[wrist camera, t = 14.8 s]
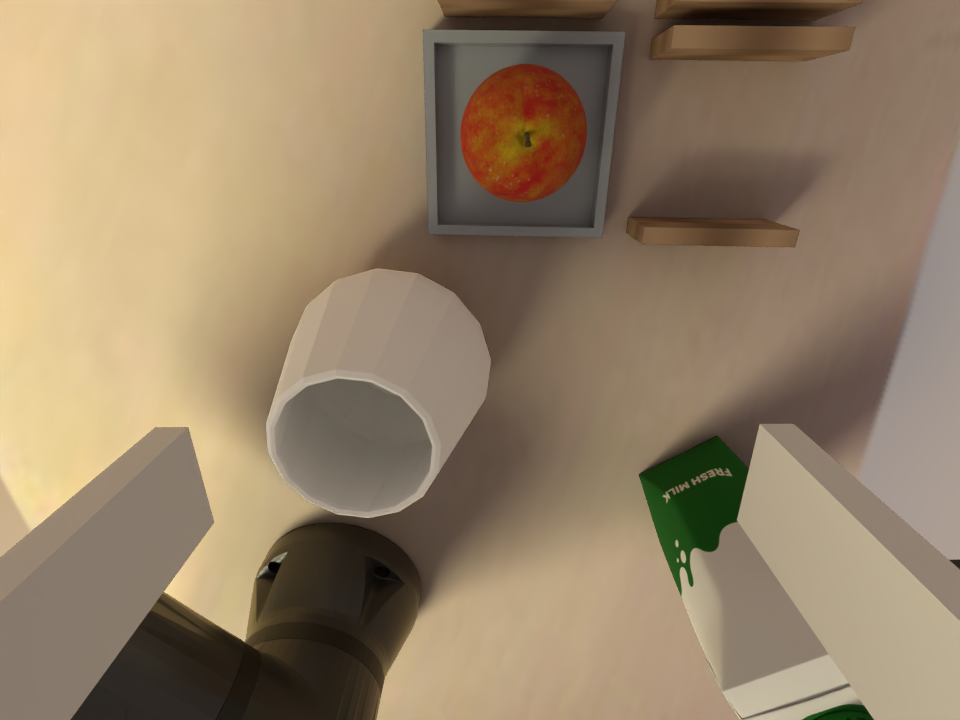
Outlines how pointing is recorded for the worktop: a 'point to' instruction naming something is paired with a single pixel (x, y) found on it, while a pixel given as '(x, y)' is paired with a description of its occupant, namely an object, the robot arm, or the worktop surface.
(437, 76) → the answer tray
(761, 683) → the milk carton
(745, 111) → the worktop surface
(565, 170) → the fruit
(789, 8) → the stall
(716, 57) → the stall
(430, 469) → the cup
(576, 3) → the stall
